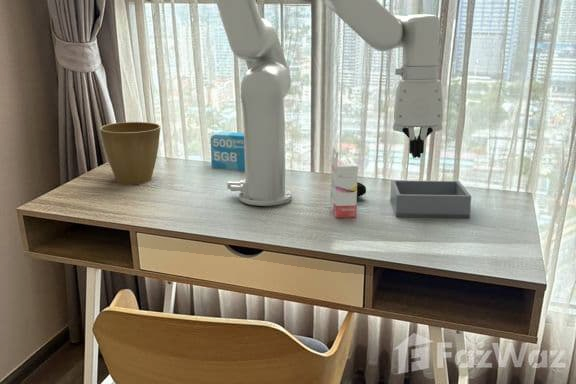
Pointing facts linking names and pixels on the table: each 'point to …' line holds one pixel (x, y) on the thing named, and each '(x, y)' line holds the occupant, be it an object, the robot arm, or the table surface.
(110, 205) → the table surface
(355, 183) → the ink cartridge box
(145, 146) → the plant pot
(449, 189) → the tote
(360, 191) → the tape measure
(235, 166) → the data package
